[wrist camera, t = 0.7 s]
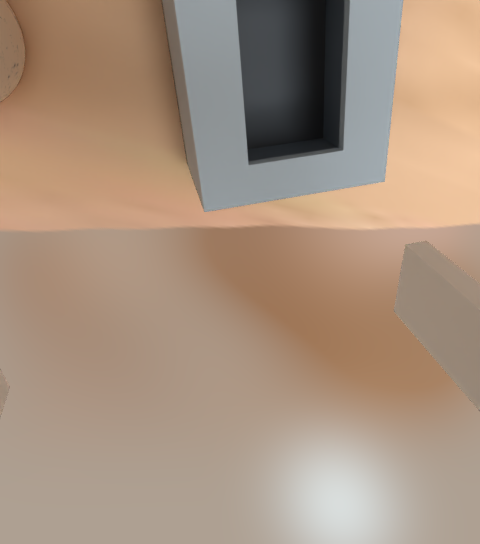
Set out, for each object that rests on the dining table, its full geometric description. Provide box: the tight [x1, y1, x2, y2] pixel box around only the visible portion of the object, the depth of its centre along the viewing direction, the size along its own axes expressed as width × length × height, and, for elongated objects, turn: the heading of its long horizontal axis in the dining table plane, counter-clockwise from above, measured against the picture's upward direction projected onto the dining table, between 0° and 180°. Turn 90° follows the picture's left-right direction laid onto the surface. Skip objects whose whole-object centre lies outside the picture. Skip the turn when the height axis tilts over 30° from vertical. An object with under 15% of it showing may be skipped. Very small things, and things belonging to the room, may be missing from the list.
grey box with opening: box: [161, 0, 403, 212], centre depth 27 cm, size 14×12×10 cm
